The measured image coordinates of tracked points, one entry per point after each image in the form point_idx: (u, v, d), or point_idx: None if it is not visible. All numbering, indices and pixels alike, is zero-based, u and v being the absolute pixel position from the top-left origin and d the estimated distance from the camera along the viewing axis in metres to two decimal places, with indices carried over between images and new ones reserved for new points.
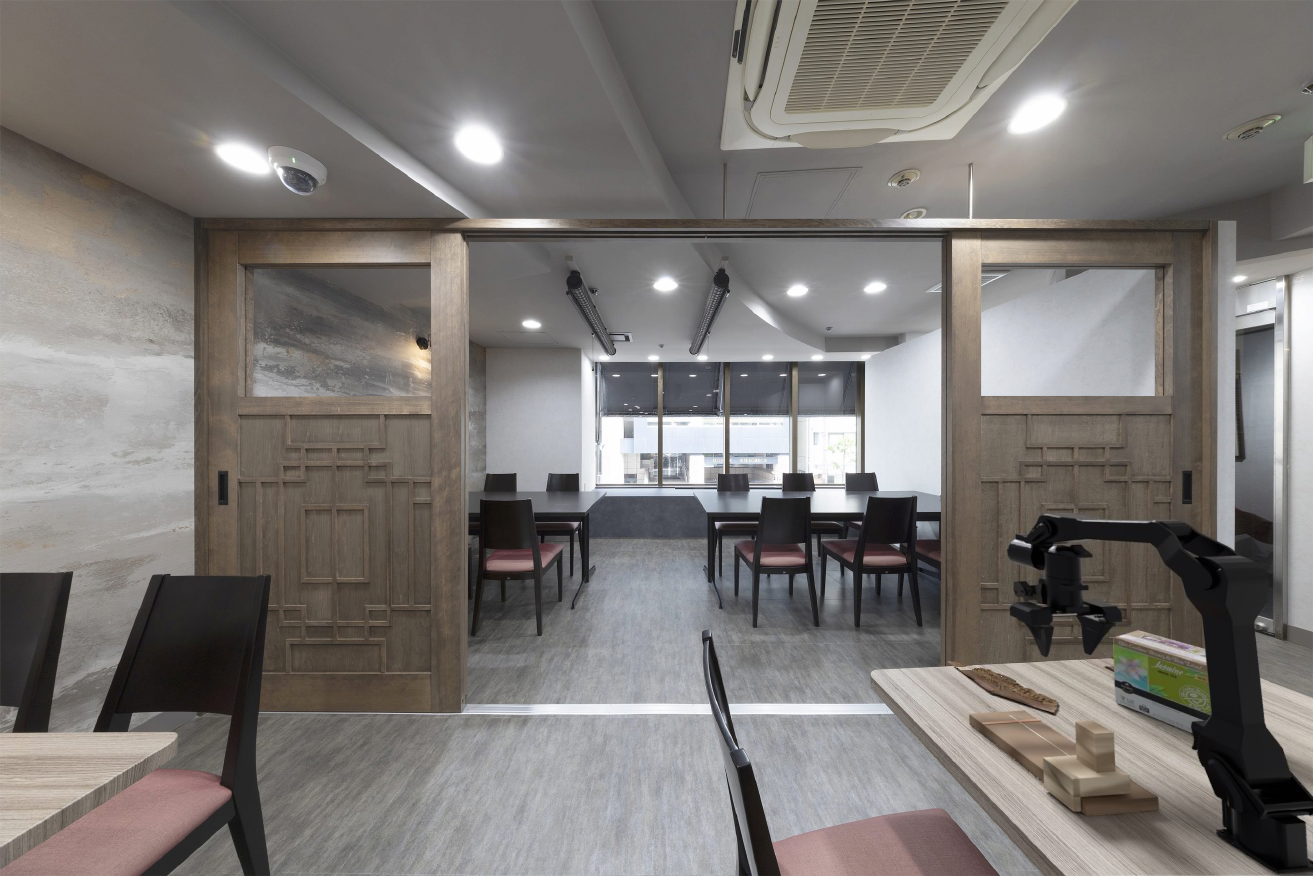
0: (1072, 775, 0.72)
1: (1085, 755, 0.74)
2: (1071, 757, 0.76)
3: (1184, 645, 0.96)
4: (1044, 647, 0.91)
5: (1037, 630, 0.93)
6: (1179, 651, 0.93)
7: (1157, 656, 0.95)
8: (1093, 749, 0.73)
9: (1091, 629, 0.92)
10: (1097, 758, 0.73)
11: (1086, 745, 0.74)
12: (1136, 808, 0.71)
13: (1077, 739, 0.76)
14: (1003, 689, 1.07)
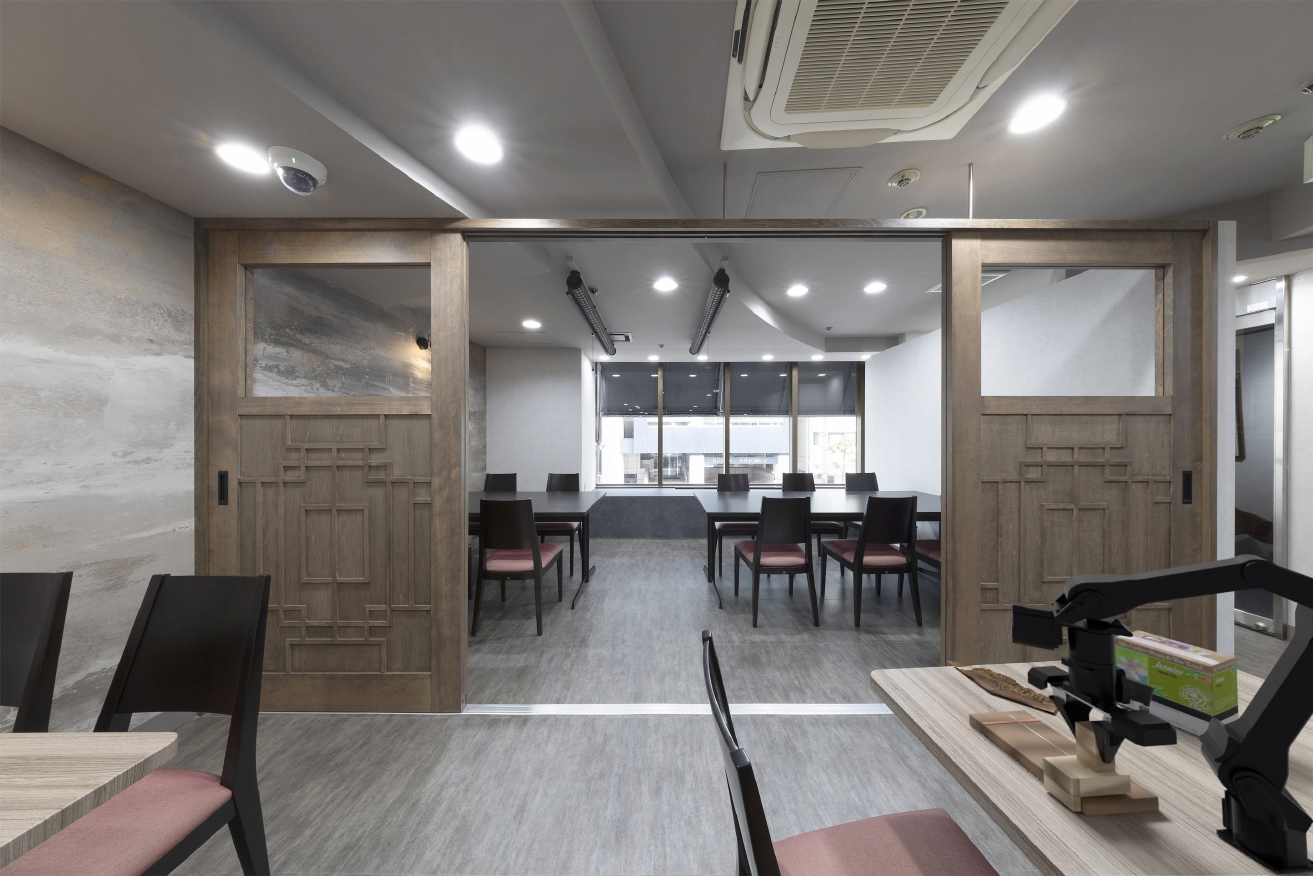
0: (1072, 775, 0.72)
1: (1085, 755, 0.74)
2: (1071, 757, 0.76)
3: (1184, 645, 0.96)
4: None
5: None
6: (1179, 651, 0.93)
7: (1157, 656, 0.95)
8: (1093, 749, 0.73)
9: None
10: (1097, 758, 0.73)
11: (1086, 745, 0.74)
12: (1136, 808, 0.71)
13: (1077, 739, 0.76)
14: (1003, 689, 1.07)
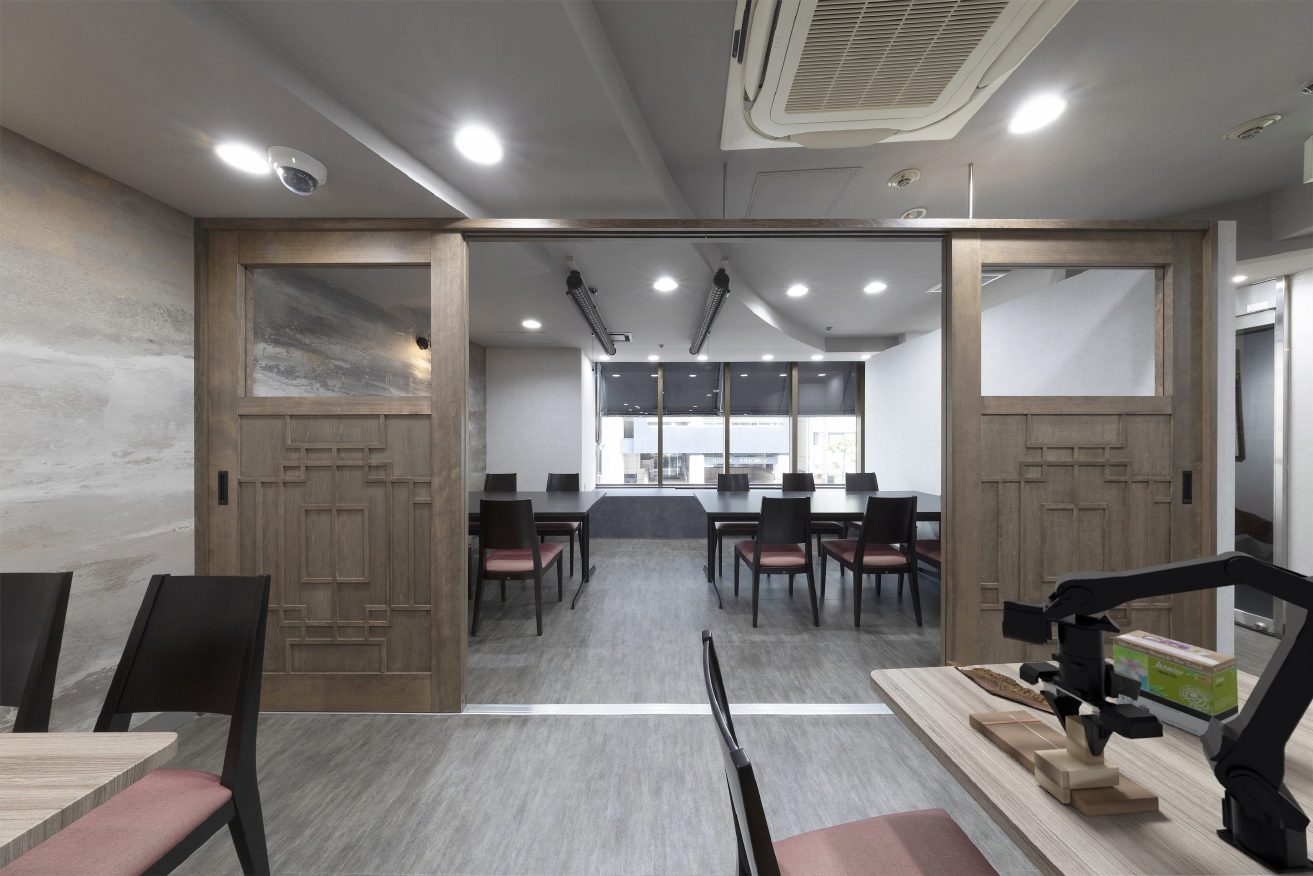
0: (1062, 768, 0.74)
1: (1075, 748, 0.76)
2: (1061, 750, 0.78)
3: (1184, 645, 0.96)
4: None
5: None
6: (1179, 651, 0.93)
7: (1157, 656, 0.95)
8: (1082, 742, 0.75)
9: None
10: (1086, 751, 0.74)
11: (1076, 739, 0.76)
12: (1136, 808, 0.71)
13: (1067, 733, 0.77)
14: (1003, 689, 1.07)
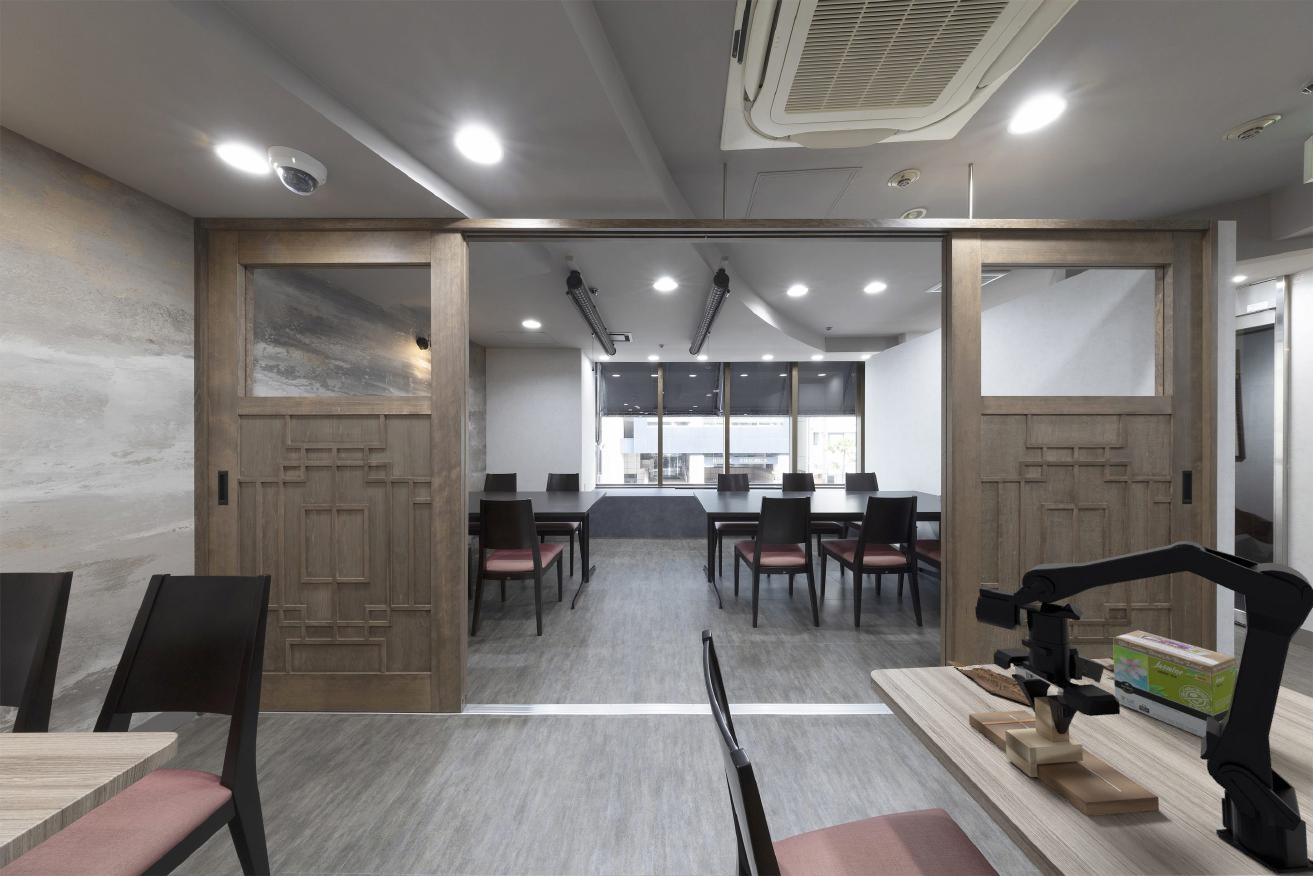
0: (1030, 745, 0.80)
1: (1043, 727, 0.82)
2: (1031, 730, 0.84)
3: (1184, 645, 0.96)
4: None
5: None
6: (1179, 651, 0.93)
7: (1156, 656, 0.95)
8: (1049, 721, 0.81)
9: None
10: (1052, 729, 0.80)
11: (1043, 718, 0.82)
12: (1136, 808, 0.71)
13: (1036, 713, 0.83)
14: (1003, 689, 1.07)
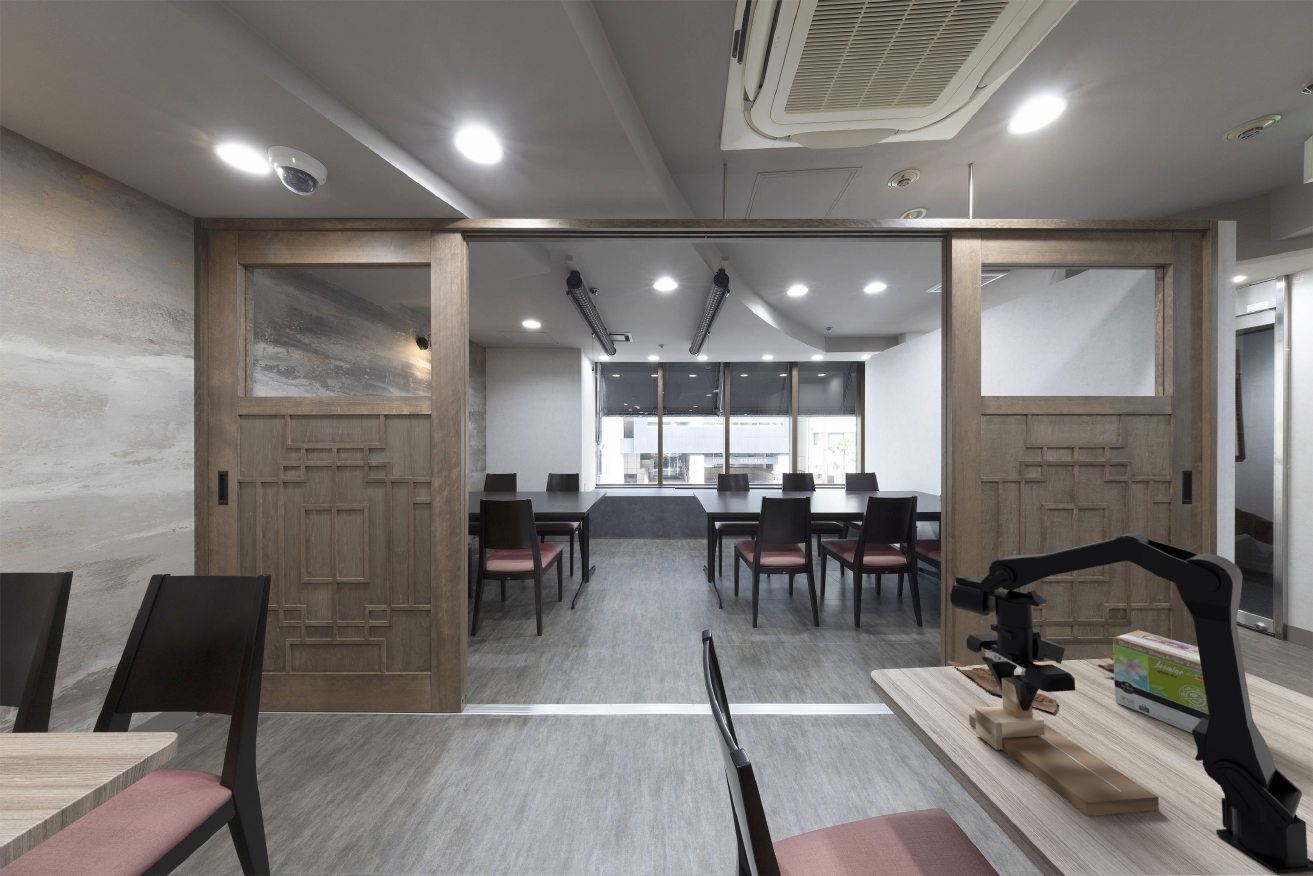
0: (996, 720, 0.87)
1: (1009, 705, 0.89)
2: (998, 707, 0.91)
3: (1184, 645, 0.96)
4: None
5: None
6: (1179, 651, 0.93)
7: (1157, 656, 0.95)
8: (1014, 699, 0.88)
9: None
10: (1017, 706, 0.87)
11: (1009, 696, 0.89)
12: (1136, 808, 0.71)
13: (1003, 692, 0.90)
14: None
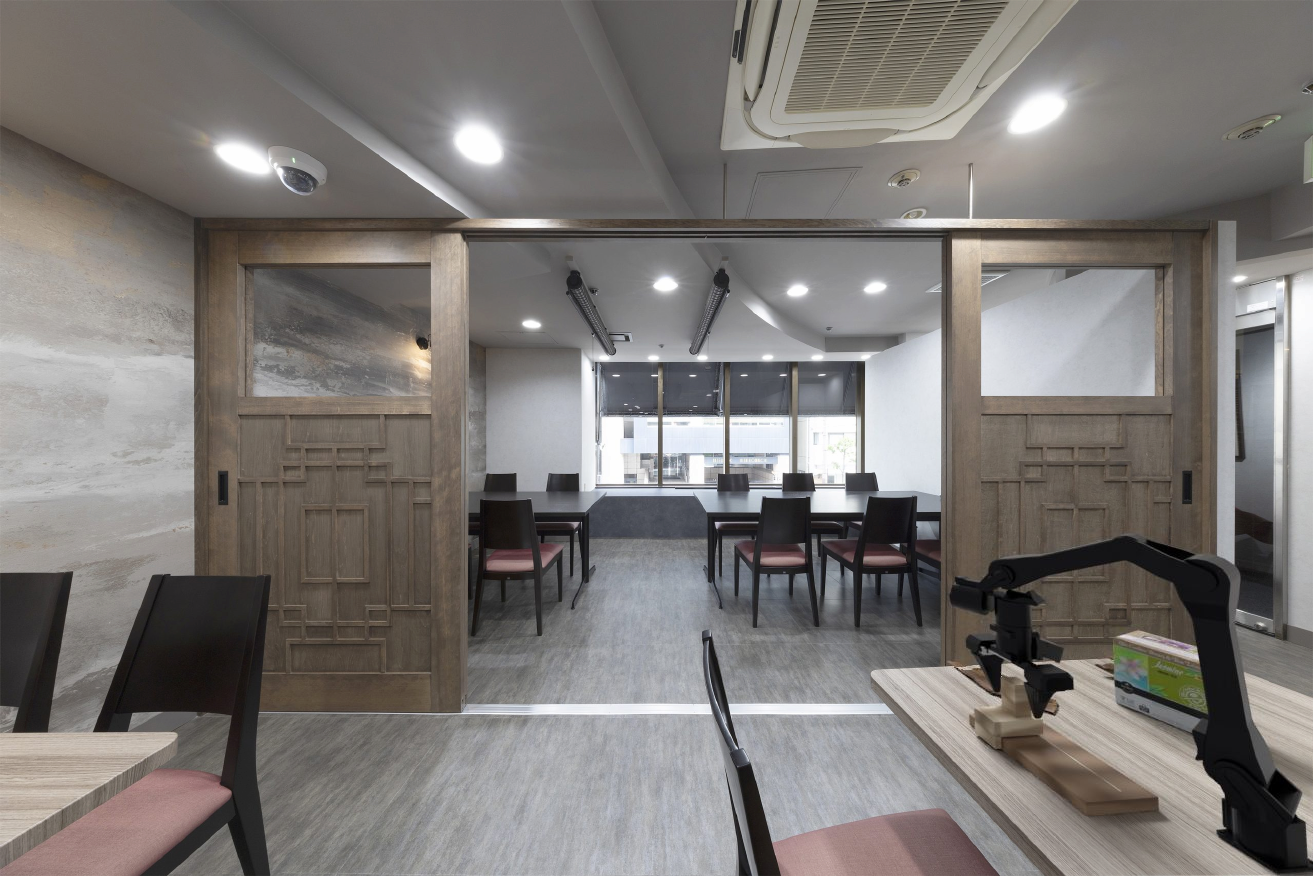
0: (995, 720, 0.87)
1: (1008, 704, 0.89)
2: (997, 707, 0.91)
3: (1184, 645, 0.96)
4: None
5: None
6: (1179, 651, 0.93)
7: (1157, 656, 0.95)
8: (1013, 698, 0.88)
9: None
10: (1016, 705, 0.88)
11: (1008, 696, 0.89)
12: (1136, 808, 0.71)
13: (1002, 691, 0.91)
14: None
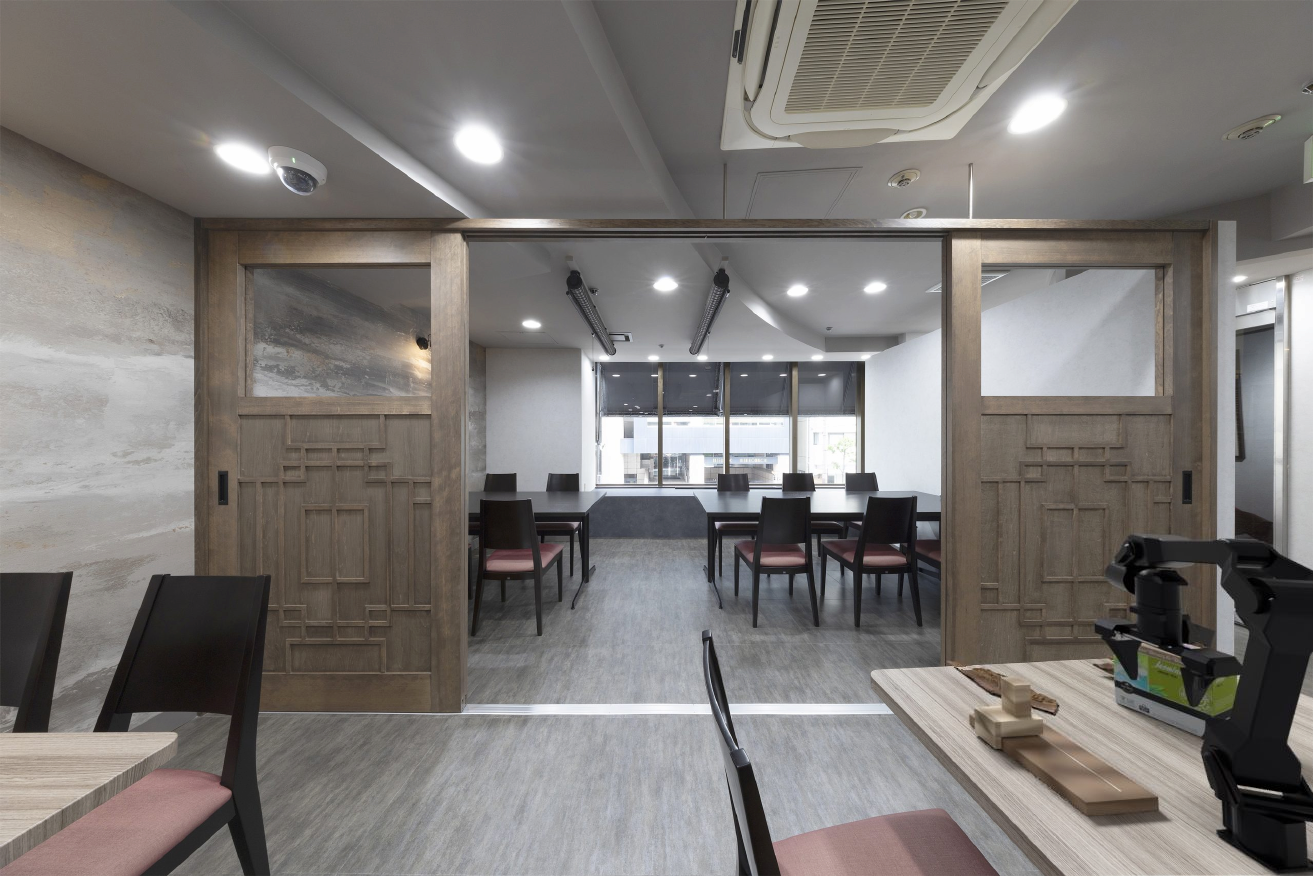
0: (995, 720, 0.87)
1: (1008, 704, 0.89)
2: (997, 707, 0.91)
3: (1184, 645, 0.96)
4: None
5: None
6: None
7: (1157, 656, 0.95)
8: (1013, 698, 0.88)
9: None
10: (1016, 705, 0.88)
11: (1008, 696, 0.89)
12: (1136, 808, 0.71)
13: (1002, 691, 0.91)
14: None
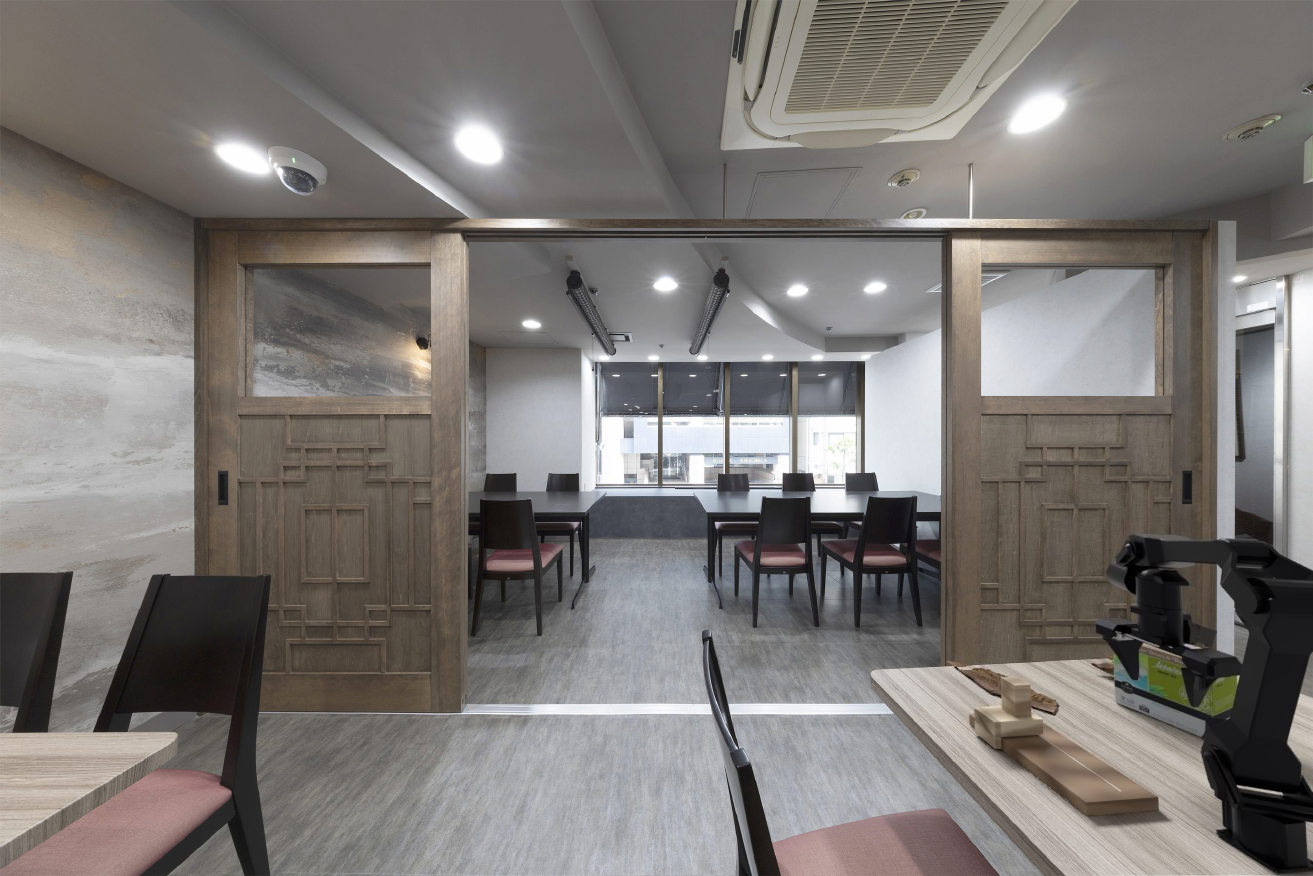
0: (995, 720, 0.87)
1: (1008, 704, 0.89)
2: (997, 707, 0.91)
3: None
4: None
5: None
6: None
7: (1157, 656, 0.95)
8: (1013, 698, 0.88)
9: None
10: (1016, 705, 0.88)
11: (1008, 696, 0.89)
12: (1136, 808, 0.71)
13: (1002, 691, 0.91)
14: None
